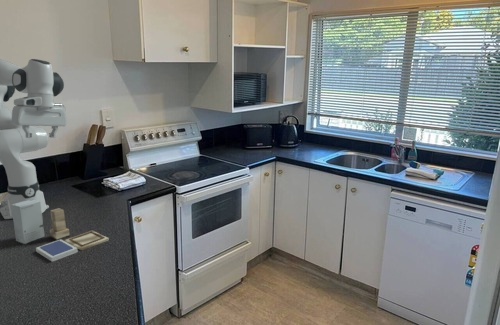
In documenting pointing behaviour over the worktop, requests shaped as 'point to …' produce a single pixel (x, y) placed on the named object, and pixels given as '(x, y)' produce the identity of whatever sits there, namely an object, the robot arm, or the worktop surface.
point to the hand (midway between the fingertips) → (40, 137)
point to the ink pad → (56, 250)
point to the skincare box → (27, 221)
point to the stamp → (58, 225)
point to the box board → (86, 240)
